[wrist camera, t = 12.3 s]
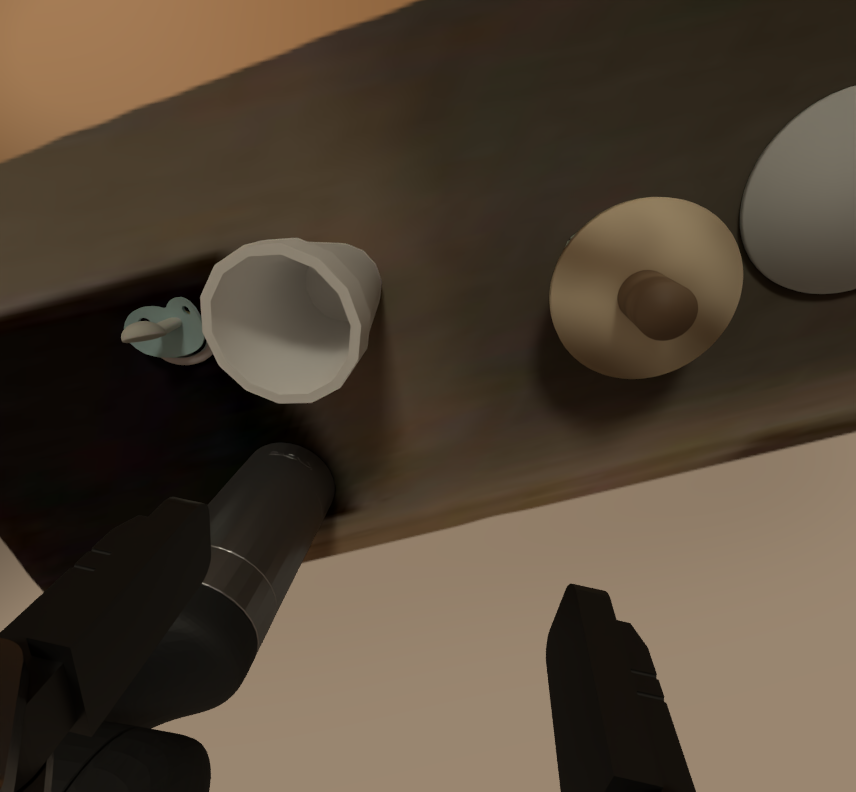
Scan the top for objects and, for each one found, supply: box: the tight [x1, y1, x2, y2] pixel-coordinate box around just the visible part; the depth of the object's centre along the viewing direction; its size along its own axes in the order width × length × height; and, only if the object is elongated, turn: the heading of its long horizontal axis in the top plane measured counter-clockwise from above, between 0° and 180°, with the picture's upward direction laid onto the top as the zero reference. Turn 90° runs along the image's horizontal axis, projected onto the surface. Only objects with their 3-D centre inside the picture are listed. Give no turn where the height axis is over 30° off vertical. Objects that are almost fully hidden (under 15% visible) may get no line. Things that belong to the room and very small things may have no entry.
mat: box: [740, 86, 856, 294], centre depth 32 cm, size 13×13×1 cm
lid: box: [549, 197, 743, 379], centre depth 29 cm, size 12×12×6 cm
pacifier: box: [121, 297, 213, 365], centre depth 40 cm, size 7×6×6 cm
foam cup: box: [200, 238, 382, 403], centre depth 33 cm, size 10×9×13 cm
